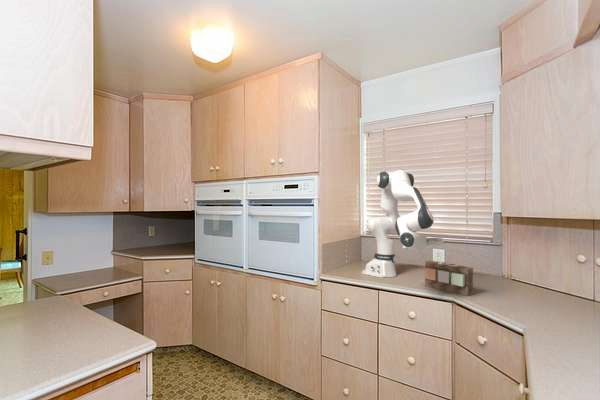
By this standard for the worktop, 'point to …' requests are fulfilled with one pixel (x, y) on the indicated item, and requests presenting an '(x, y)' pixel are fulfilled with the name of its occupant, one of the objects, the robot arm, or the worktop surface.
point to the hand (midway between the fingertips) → (427, 243)
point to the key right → (458, 279)
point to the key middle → (444, 276)
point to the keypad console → (450, 287)
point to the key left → (431, 273)
